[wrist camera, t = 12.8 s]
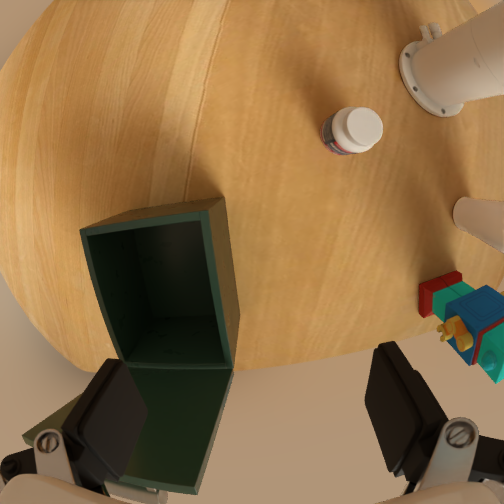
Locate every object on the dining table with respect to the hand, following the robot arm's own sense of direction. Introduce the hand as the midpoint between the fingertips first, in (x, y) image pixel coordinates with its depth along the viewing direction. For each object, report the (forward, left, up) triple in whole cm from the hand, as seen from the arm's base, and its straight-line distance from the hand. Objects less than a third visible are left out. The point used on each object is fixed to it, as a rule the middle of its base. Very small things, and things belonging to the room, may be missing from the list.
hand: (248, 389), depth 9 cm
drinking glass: (0, +33, -27) cm, 43 cm away
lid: (+9, -10, -7) cm, 15 cm away
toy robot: (+12, +29, -27) cm, 42 cm away
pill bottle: (-11, +12, -27) cm, 32 cm away
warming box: (+4, -10, -27) cm, 29 cm away
